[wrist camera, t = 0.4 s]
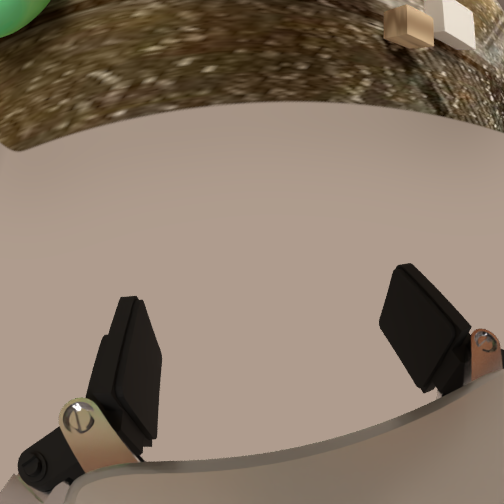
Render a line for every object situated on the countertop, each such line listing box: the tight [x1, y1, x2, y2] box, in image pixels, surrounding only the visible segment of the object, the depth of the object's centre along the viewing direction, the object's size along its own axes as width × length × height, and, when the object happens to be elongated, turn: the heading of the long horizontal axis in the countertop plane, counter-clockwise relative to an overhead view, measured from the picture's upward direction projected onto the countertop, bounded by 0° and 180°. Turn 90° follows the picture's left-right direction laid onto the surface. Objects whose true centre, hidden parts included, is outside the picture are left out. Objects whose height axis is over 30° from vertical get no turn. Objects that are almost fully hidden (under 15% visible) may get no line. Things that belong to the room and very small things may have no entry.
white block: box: [424, 0, 476, 50], centre depth 25 cm, size 8×8×5 cm
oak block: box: [384, 4, 434, 49], centre depth 26 cm, size 5×5×6 cm
